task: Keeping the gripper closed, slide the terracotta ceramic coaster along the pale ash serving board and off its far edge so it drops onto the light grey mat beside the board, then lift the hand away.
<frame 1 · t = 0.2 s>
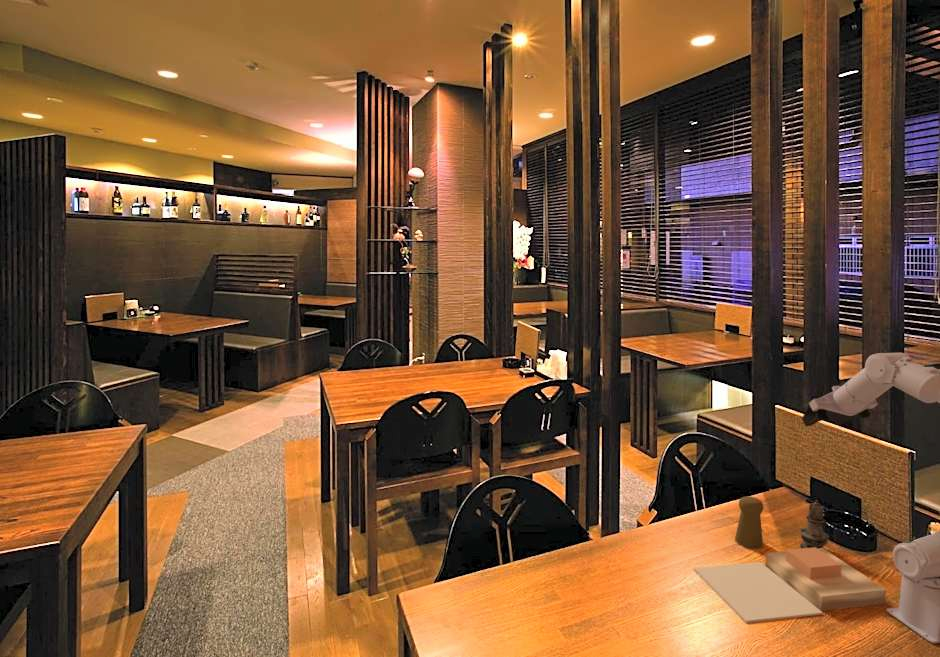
hand: (820, 421, 126), 31 cm above the table, tool tilted 45°, fingers open, 7 cm apart
serving board: (821, 583, 115), on the table
dark chess piece: (813, 549, 130), on the table
coaster: (812, 562, 116), point 4 cm above the table, touching serving board
mat: (753, 590, 113), on the table
cork: (748, 543, 133), on the table
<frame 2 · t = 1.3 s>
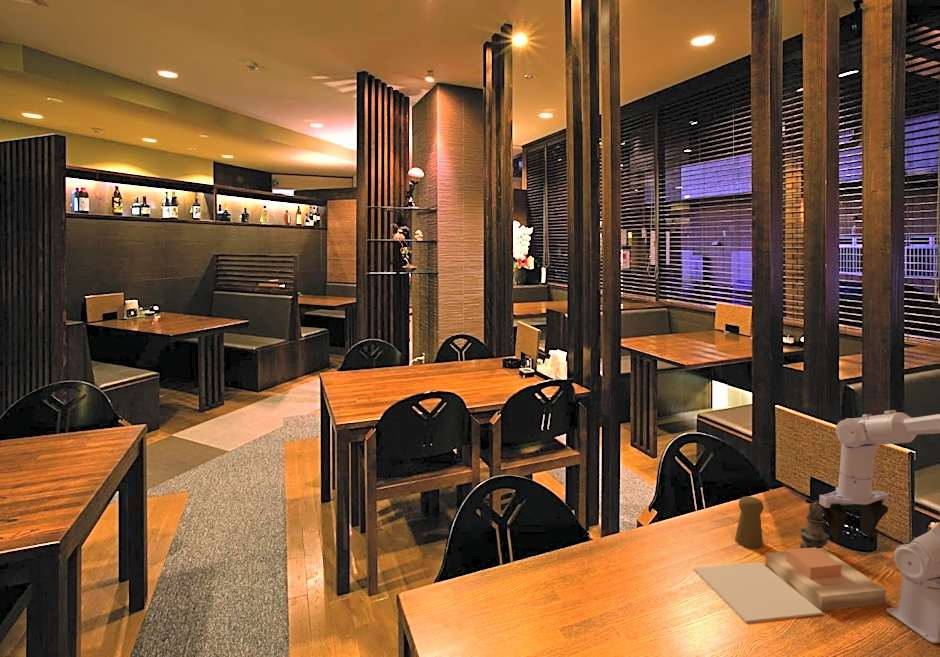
hand: (850, 536, 116), 9 cm above the table, tool pointing down, fingers open, 7 cm apart
nothing on the table moved.
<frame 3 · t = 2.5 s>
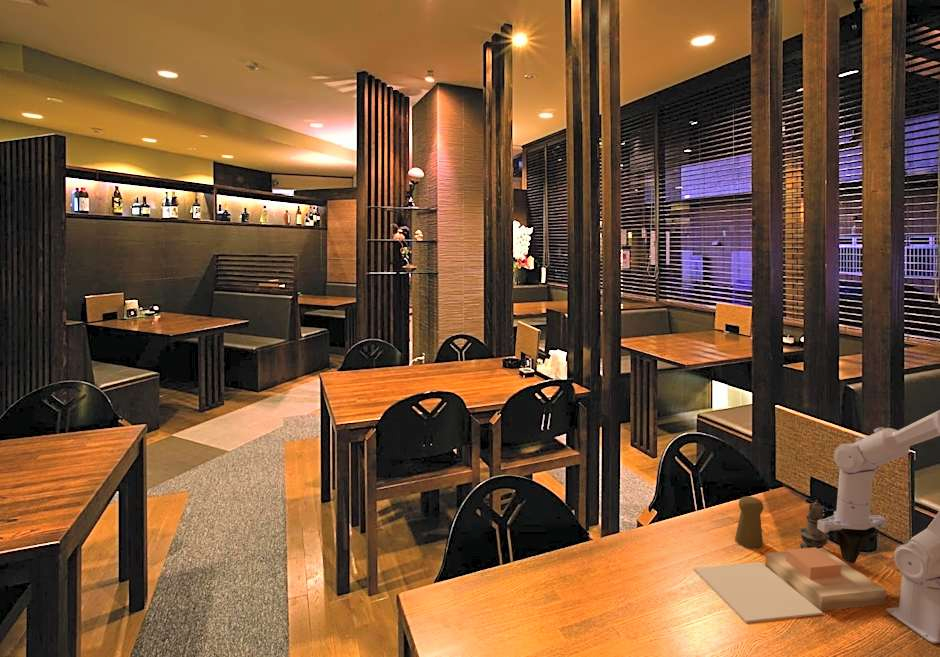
hand: (848, 560, 117), 4 cm above the table, tool pointing down, fingers closed
nothing on the table moved.
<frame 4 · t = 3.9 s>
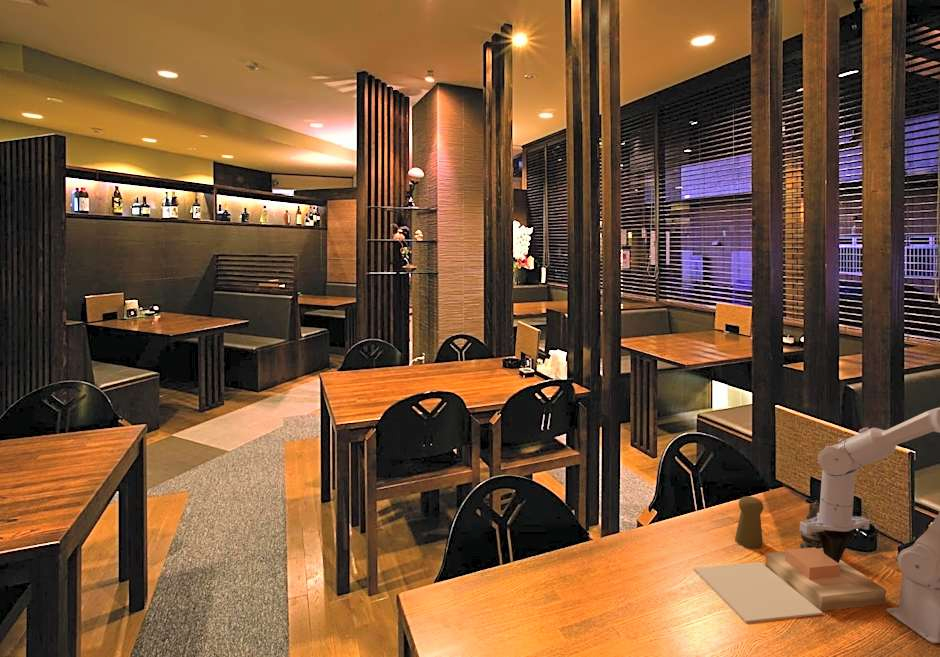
hand: (831, 562, 116), 4 cm above the table, tool pointing down, fingers closed
coaster: (812, 562, 116), point 4 cm above the table, touching gripper
everything else where it was.
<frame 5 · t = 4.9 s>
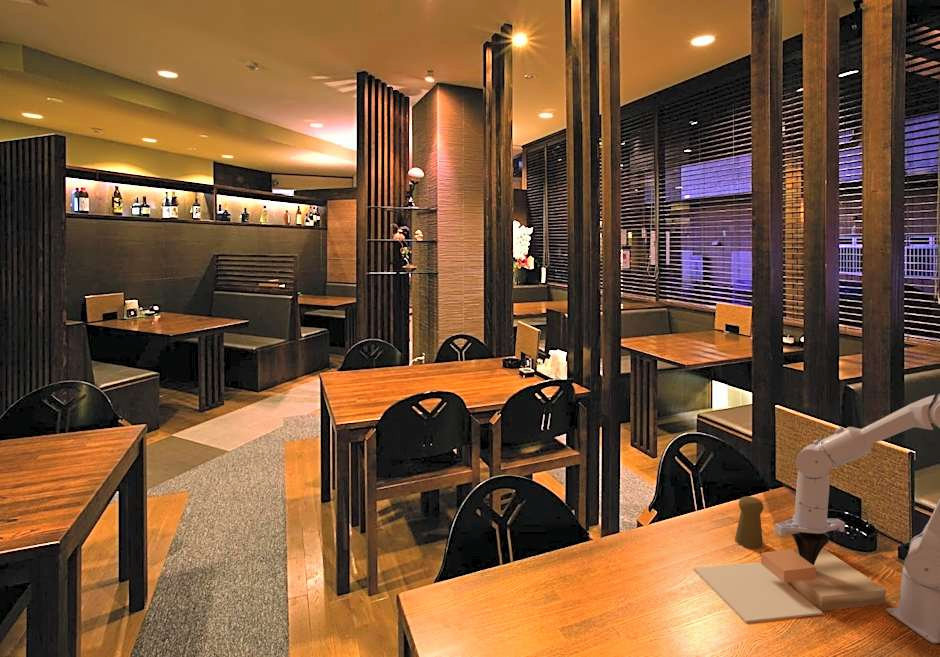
hand: (807, 564, 116), 4 cm above the table, tool pointing down, fingers closed
coaster: (787, 565, 115), point 4 cm above the table, touching gripper, serving board
everything else where it was.
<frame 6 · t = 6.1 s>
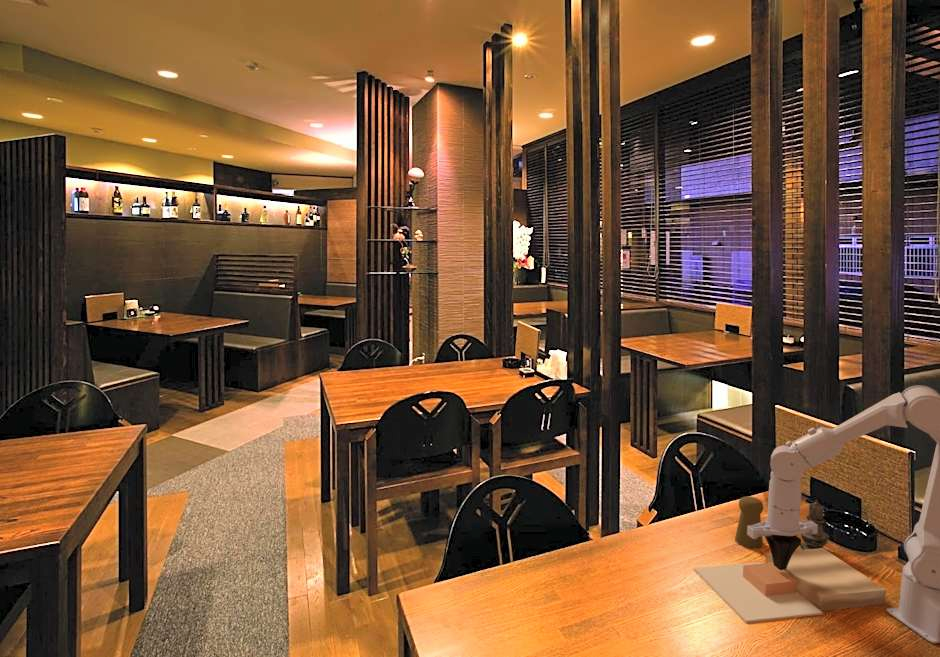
hand: (779, 567, 115), 4 cm above the table, tool pointing down, fingers closed
coaster: (769, 578, 115), point 2 cm above the table, touching mat
everything else where it was.
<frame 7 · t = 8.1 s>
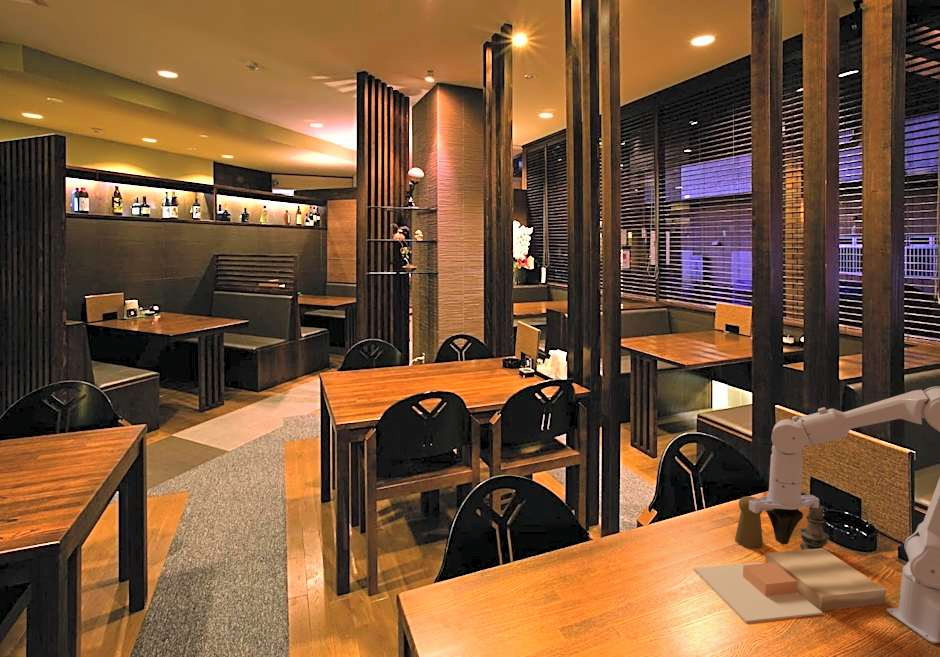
hand: (781, 541, 114), 9 cm above the table, tool pointing down, fingers closed
nothing on the table moved.
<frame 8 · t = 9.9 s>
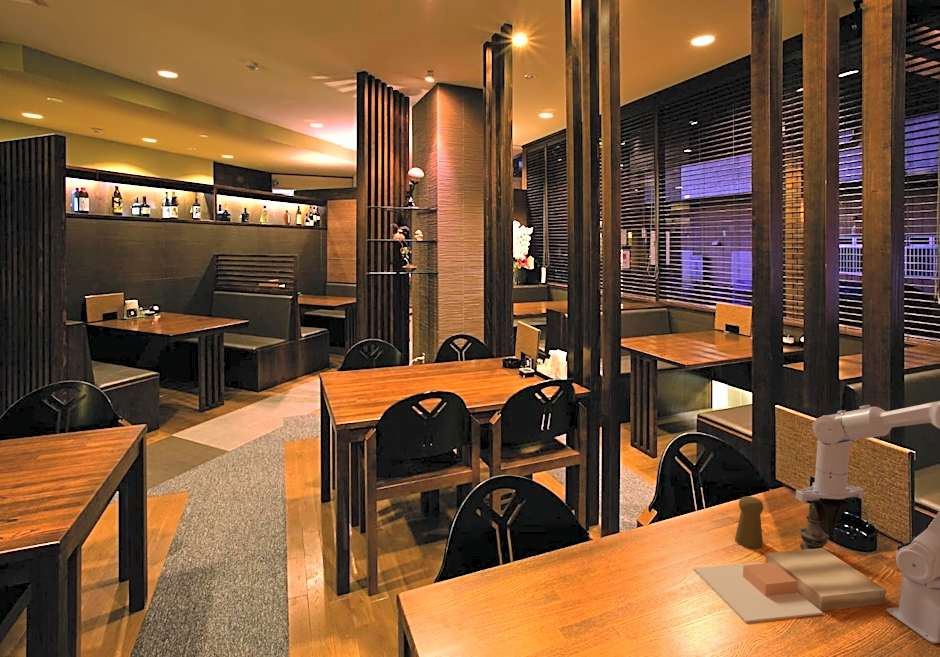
hand: (826, 530, 119), 9 cm above the table, tool pointing down, fingers closed
nothing on the table moved.
at the end: coaster point 1.6 cm above the table; coaster inside the target area (4.2 cm from its centre), point 1.6 cm above the table; coaster touching mat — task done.
